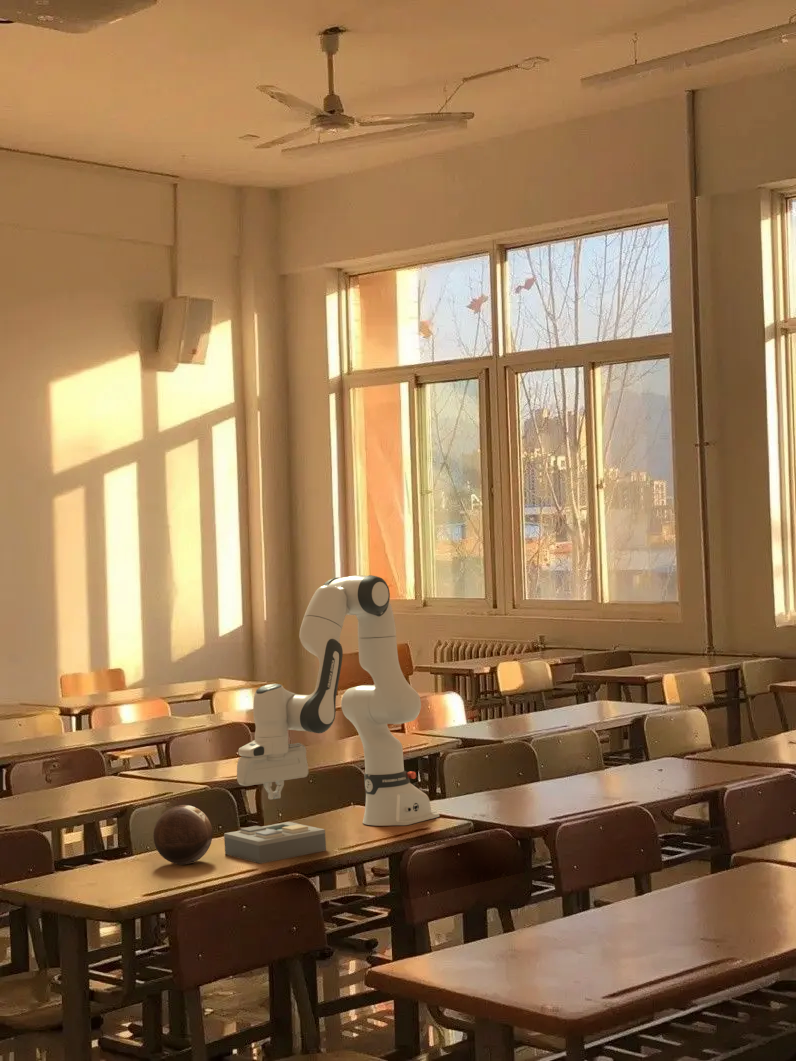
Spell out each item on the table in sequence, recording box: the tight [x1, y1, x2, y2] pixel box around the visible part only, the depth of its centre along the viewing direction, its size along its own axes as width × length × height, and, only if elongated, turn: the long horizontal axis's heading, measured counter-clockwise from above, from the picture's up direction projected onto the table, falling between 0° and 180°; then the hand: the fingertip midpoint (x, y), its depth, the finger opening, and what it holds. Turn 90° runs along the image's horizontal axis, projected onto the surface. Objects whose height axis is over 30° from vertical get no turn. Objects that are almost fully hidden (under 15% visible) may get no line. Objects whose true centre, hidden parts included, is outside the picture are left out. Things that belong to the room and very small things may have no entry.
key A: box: [256, 829, 282, 839], centre depth 387 cm, size 5×5×3 cm
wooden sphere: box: [152, 804, 213, 865], centre depth 385 cm, size 15×15×15 cm
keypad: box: [223, 821, 327, 864], centre depth 393 cm, size 20×18×6 cm
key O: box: [239, 825, 266, 835], centre depth 394 cm, size 5×5×3 cm
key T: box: [282, 823, 309, 834], centre depth 392 cm, size 5×5×3 cm
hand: (274, 798), depth 396 cm, fingers closed
